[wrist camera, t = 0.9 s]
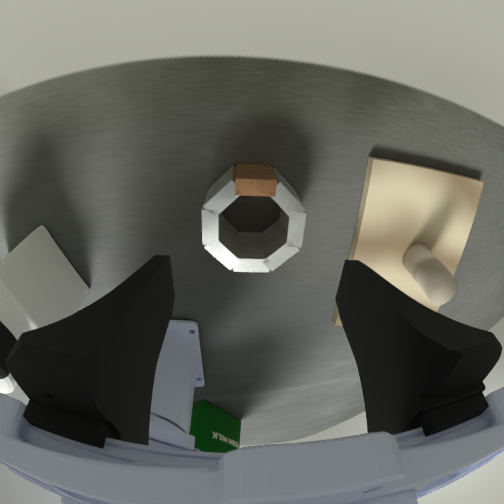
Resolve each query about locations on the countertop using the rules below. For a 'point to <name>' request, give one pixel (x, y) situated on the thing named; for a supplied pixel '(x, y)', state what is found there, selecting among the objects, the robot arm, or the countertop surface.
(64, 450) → the robot arm
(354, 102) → the countertop surface
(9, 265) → the medicine bottle
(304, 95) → the countertop surface
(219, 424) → the milk carton
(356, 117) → the countertop surface
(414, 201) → the duct board
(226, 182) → the collar
